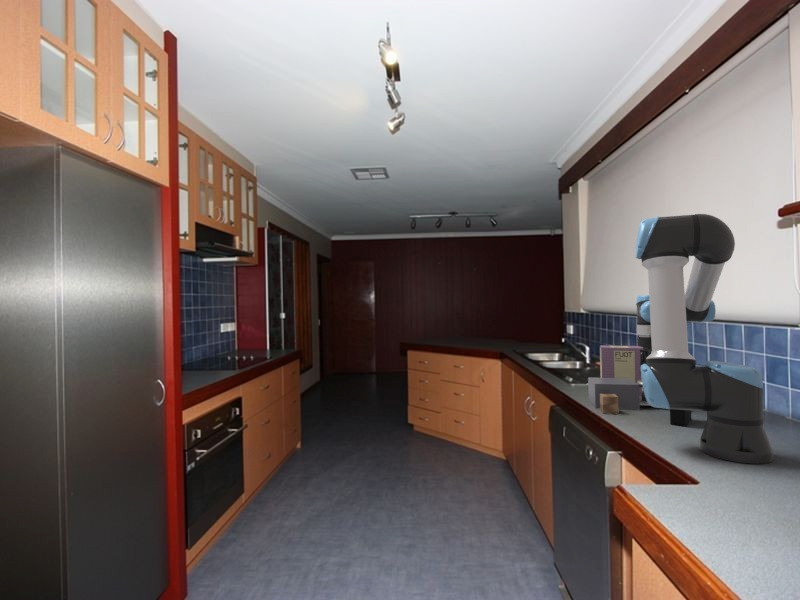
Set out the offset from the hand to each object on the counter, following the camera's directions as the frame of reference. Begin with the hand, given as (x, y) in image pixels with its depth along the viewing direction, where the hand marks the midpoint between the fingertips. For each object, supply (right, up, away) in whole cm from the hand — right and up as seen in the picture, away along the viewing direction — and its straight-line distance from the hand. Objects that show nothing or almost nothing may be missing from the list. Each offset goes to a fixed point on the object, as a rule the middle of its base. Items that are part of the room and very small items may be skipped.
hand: (649, 396), depth 166 cm
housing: (-13, -4, +3) cm, 13 cm away
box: (+1, -4, +21) cm, 22 cm away
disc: (0, +4, 0) cm, 4 cm away
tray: (-1, -3, 0) cm, 3 cm away
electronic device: (-3, -4, -23) cm, 23 cm away
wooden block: (-19, -4, -8) cm, 21 cm away
